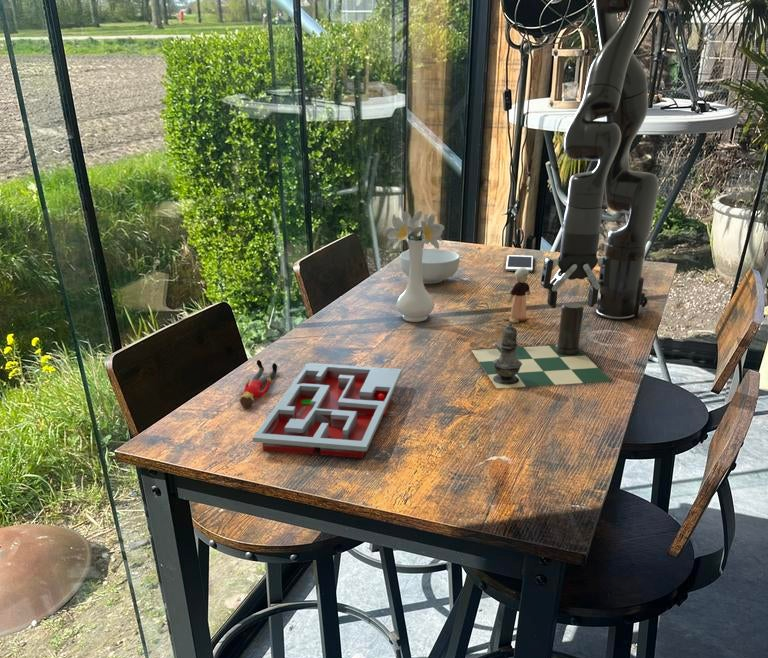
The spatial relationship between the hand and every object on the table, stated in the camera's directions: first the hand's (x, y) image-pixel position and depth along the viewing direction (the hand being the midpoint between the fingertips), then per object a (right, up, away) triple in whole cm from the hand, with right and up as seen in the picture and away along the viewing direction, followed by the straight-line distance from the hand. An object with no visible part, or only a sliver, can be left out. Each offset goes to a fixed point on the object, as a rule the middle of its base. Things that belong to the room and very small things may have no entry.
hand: (571, 306), depth 172 cm
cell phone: (0, +30, +68) cm, 74 cm away
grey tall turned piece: (-15, -17, -8) cm, 25 cm away
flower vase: (-33, +4, +26) cm, 42 cm away
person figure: (-66, -20, -12) cm, 70 cm away
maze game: (-50, -26, -23) cm, 61 cm away
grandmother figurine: (-7, +3, +24) cm, 26 cm away
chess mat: (-8, -13, -2) cm, 15 cm away
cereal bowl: (-28, +21, +55) cm, 65 cm away
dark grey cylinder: (0, -8, +5) cm, 10 cm away
